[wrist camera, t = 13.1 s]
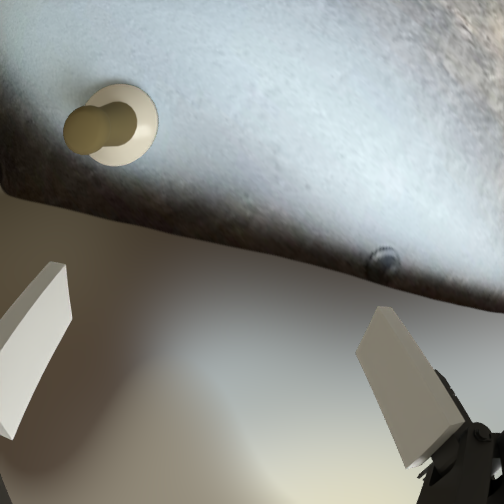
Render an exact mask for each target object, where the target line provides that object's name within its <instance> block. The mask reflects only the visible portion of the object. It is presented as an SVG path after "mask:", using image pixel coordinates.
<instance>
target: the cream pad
mask: <svg viewBox="0 0 504 504" xmlns="http://www.w3.org/2000/svg"><path fill="white" fill-rule="evenodd" d="M119 101H120V102H124V103H127V104H128V105H129V106H131V107H132V109H133V110H134V112H135V113H136V117H137V128H136V131H135V134H134V135H133V137H132V138H131V139H130V140H129V141H128V142H127V143H125V144H124V145H121V146H111V147H102V148H101V149H100V150H98V151H97V152H95V153H92V154H89V155H90V156H91V157H92V158H93V159H94V160H96V161H97V162H99V163H101V164H104V165H108V166H122V165H126V164H129V163H131V162H133V161H135V160H137V159H138V158H140V157H141V156H142V155H144V154H145V153H146V152H147V151H148V149H149V148H150V147H151V145H152V144H153V142H154V140H155V138H156V135H157V131H158V124H159V118H158V112H157V109H156V106H155V104H154V102H153V100H152V99H151V98H150V96H149V95H148V94H147V93H146V92H144V91H143V90H141V89H140V88H137V87H135V86H131V85H127V84H114V85H110V86H107V87H104V88H102V89H101V90H99V91H97V92H96V93H95V94H94V95H93V96H92V97H91V98H90V99H89V100H88V101H87V103H86V104H85V106H88V105H93V106H96V107H101V106H103V105H106V104H109V103H111V102H119Z"/></svg>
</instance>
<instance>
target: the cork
mask: <svg viewBox="0 0 504 504" xmlns="http://www.w3.org/2000/svg"><path fill="white" fill-rule="evenodd" d="M136 128H137V117H136V113H135V112H134V110H133V109H132V107H131V106H129V105H128V104H127V103H124V102H120V101H119V102H111V103H109V104H106V105H103V106H101V107H96V106H93V105H88V106H82V107H79V108H77V109H76V110H74V111H73V112H72V113H71V114H70V115H69V116H68V118H67V119H66V121H65V125H64V128H63V136H64V140H65V143H66V145H67V146H68V148H69V149H70V150H72V151H73V152H74V153H77V154H80V155H89V154H92V153H95V152H97V151H98V150H100V149H101V148H102V147H111V146H121V145H124V144H125V143H127V142H128V141H129V140H130V139H131V138H132V137H133V135H134V134H135V131H136Z"/></svg>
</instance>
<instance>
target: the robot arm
mask: <svg viewBox="0 0 504 504" xmlns="http://www.w3.org/2000/svg"><path fill="white" fill-rule="evenodd" d="M71 320H72V313H71V307H70V299H69V291H68V283H67V273H66V264H61V263H56V262H49V263H48V264H47V265H46V267H45V268H44V269H43V270H42V271H41V272H40V273H39V274H38V275H37V277H36V278H35V279H34V280H33V281H32V282H31V283H30V284H29V286H28V287H27V288H26V289H25V290H24V292H23V293H22V294H21V295H20V296H19V297H18V299H17V300H16V301H15V302H14V303H13V305H12V306H11V307H10V308H9V310H8V311H7V312H6V314H5V315H4V316H3V317H2V319H1V320H0V435H2V436H4V437H7V438H9V439H11V440H13V438H14V435H15V433H16V431H17V428H18V426H19V423H20V421H21V419H22V416H23V414H24V412H25V410H26V407H27V405H28V403H29V401H30V399H31V397H32V394H33V392H34V390H35V388H36V386H37V384H38V382H39V380H40V378H41V376H42V374H43V372H44V370H45V368H46V366H47V364H48V362H49V360H50V358H51V357H52V355H53V353H54V351H55V349H56V347H57V345H58V344H59V342H60V340H61V338H62V336H63V334H64V333H65V331H66V329H67V327H68V326H69V324H70V322H71ZM356 355H357V358H358V360H359V362H360V364H361V366H362V368H363V371H364V373H365V375H366V377H367V379H368V381H369V384H370V386H371V388H372V390H373V392H374V395H375V397H376V399H377V402H378V404H379V406H380V409H381V411H382V413H383V415H384V418H385V420H386V422H387V425H388V427H389V429H390V432H391V434H392V436H393V439H394V441H395V444H396V446H397V449H398V451H399V453H400V456H401V458H402V461H403V463H404V466H405V468H406V469H409V468H413V467H417V466H420V465H422V464H423V463H424V462H425V461H426V460H427V459H429V458H430V457H431V458H432V460H433V462H432V463H431V464H430V465H429V466H428V467H427V468H426V469H425V470H423V471H422V472H421V473H420V474H419V476H418V477H417V478H421V477H422V476H423V475H424V474H426V473H427V474H426V477H425V478H424V479H423V481H424V483H423V487H422V489H421V493H420V495H419V498H418V501H417V504H504V431H503V432H502V433H491V431H490V430H489V428H488V427H487V426H485V425H484V424H482V423H479V422H475V423H473V422H472V421H471V420H470V418H469V416H468V414H467V413H466V411H465V409H464V408H463V406H462V404H461V403H460V401H459V399H458V398H457V396H455V393H454V391H453V390H452V389H450V385H449V384H448V382H447V381H446V379H445V378H444V377H443V376H442V375H441V374H440V373H439V372H438V371H437V370H436V369H435V370H434V369H433V368H432V367H431V365H430V363H429V362H428V360H427V359H426V357H425V356H424V354H423V353H422V351H421V350H420V348H419V347H418V345H417V344H416V342H415V341H414V339H413V338H412V336H411V335H410V333H409V332H408V330H407V329H406V328H405V326H404V325H403V323H402V322H401V320H400V319H399V318H398V316H397V315H396V313H395V312H394V310H393V309H392V308H391V307H381V306H378V307H377V309H376V311H375V313H374V316H373V317H372V320H371V322H370V324H369V326H368V328H367V330H366V332H365V334H364V336H363V339H362V341H361V343H360V345H359V347H358V349H357V351H356ZM501 468H502V475H501V476H500V477H499V478H497V479H495V478H494V474H495V473H497V472H498V471H499V470H500V469H501ZM0 504H12V502H11V499H10V497H9V495H8V492H7V490H6V488H5V485H4V482H3V480H2V477H1V474H0Z"/></svg>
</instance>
